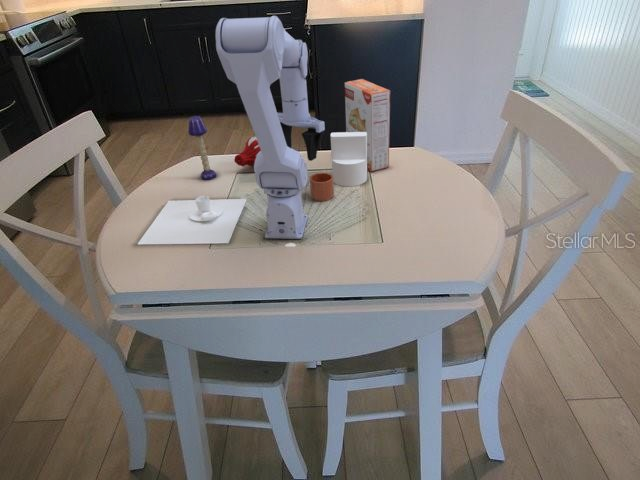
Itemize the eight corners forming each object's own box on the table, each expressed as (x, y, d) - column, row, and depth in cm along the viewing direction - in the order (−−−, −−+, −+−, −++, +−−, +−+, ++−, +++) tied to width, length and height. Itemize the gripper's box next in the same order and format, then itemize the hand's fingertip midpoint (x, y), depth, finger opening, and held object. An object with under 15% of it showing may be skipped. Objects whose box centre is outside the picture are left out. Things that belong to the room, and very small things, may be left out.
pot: (332, 201, 109) (331, 182, 107) (309, 201, 110) (308, 182, 107) (335, 191, 114) (334, 172, 111) (312, 191, 115) (311, 172, 112)
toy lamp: (214, 180, 124) (202, 119, 114) (197, 181, 124) (183, 121, 115) (217, 173, 128) (206, 113, 118) (201, 174, 128) (188, 114, 119)
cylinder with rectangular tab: (367, 171, 123) (367, 127, 116) (366, 186, 115) (366, 140, 109) (333, 171, 124) (331, 128, 117) (331, 186, 116) (328, 141, 110)
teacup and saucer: (217, 224, 103) (214, 208, 101) (183, 225, 104) (179, 209, 102) (226, 205, 111) (223, 190, 109) (194, 206, 111) (191, 191, 109)
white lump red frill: (297, 163, 129) (250, 184, 123) (277, 151, 137) (233, 170, 131) (290, 133, 123) (241, 154, 118) (271, 123, 131) (224, 142, 126)
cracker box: (345, 155, 133) (343, 81, 121) (363, 151, 134) (363, 77, 123) (370, 173, 122) (370, 93, 110) (389, 168, 124) (391, 89, 112)
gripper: (331, 97, 100) (334, 156, 107) (282, 90, 108) (287, 144, 115) (311, 106, 96) (315, 166, 103) (261, 97, 103) (268, 154, 111)
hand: (299, 156), depth 109 cm, fingers open, 7 cm apart
